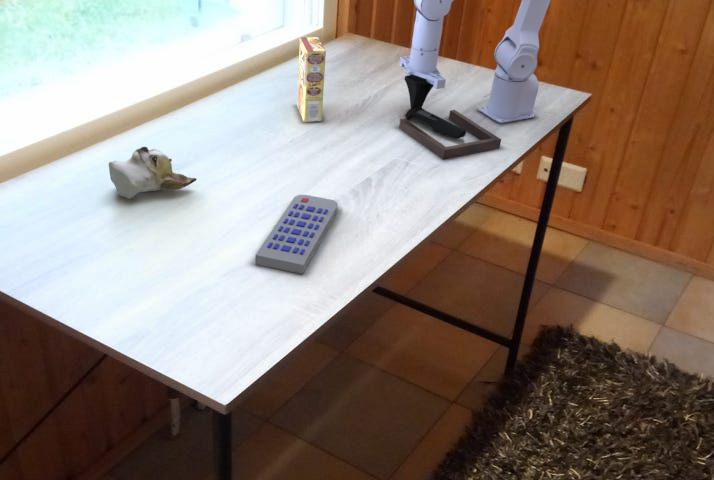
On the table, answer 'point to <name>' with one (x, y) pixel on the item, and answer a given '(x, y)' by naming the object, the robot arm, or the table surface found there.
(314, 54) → the candy box
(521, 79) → the robot arm
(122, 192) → the ceramic sculpture
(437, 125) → the electric trimmer
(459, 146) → the dock
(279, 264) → the remote control
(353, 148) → the table surface
